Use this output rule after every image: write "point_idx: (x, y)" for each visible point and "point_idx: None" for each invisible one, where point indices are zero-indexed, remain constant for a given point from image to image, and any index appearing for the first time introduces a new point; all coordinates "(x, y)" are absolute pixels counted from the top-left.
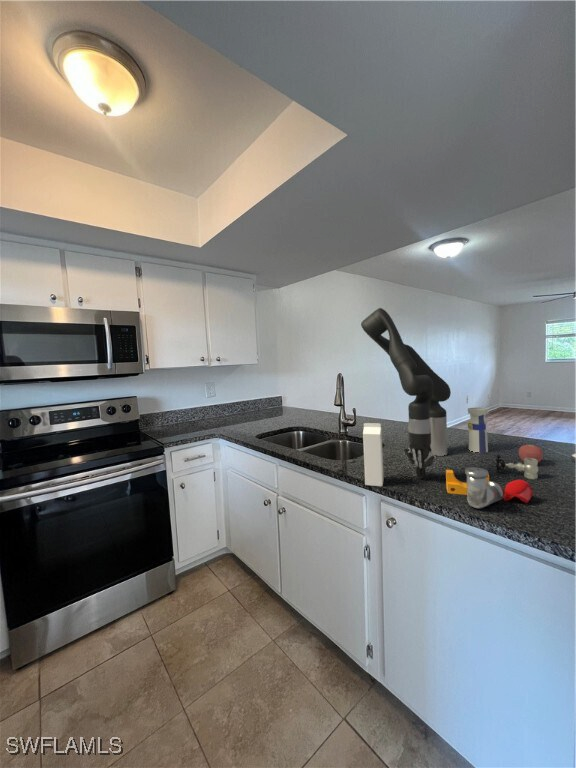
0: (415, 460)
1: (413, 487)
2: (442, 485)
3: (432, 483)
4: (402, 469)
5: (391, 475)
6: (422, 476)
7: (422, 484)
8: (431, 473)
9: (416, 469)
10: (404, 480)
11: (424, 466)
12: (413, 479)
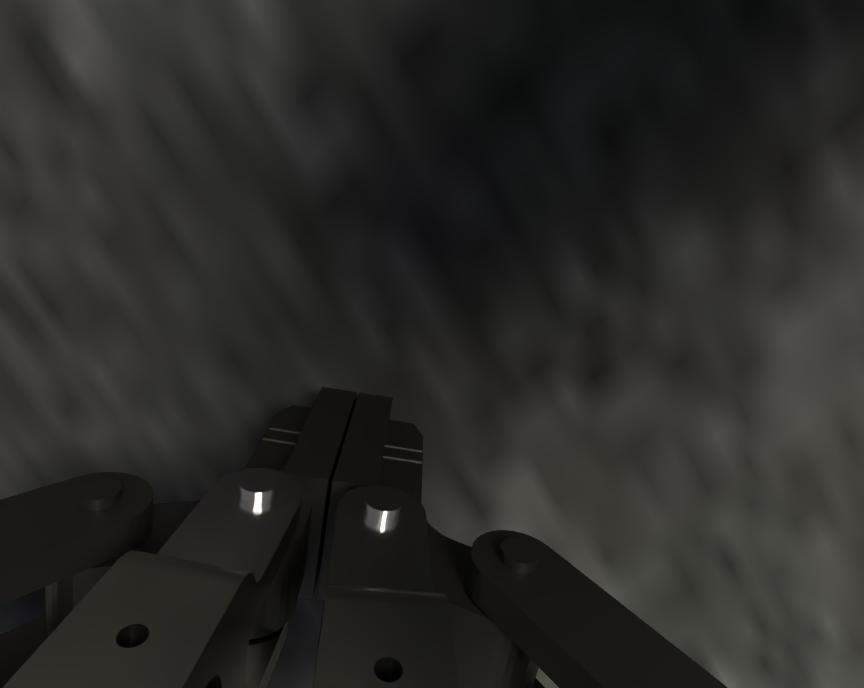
0: (374, 585)
1: (247, 4)
2: (9, 404)
3: (147, 379)
4: (767, 577)
5: (822, 249)
6: (291, 408)
7: (223, 241)
8: None
9: (412, 476)
10: (532, 195)
11: (92, 484)
12: (440, 335)
